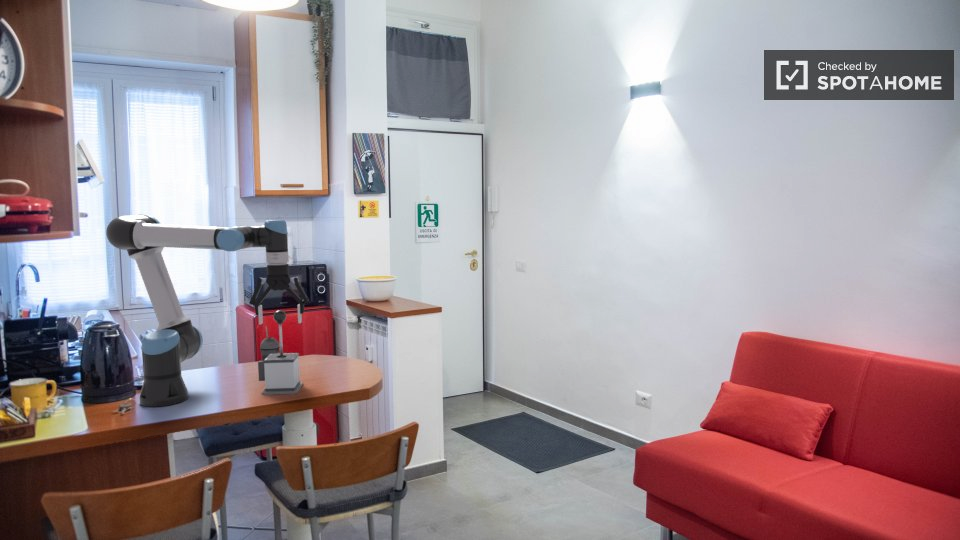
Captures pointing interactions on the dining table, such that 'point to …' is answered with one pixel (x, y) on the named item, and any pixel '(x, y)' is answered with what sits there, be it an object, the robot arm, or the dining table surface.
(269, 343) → the beverage cup
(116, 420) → the dining table surface
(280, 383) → the grey cube on plate
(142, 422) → the dining table surface
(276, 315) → the lever with ball knob
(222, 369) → the dining table surface
